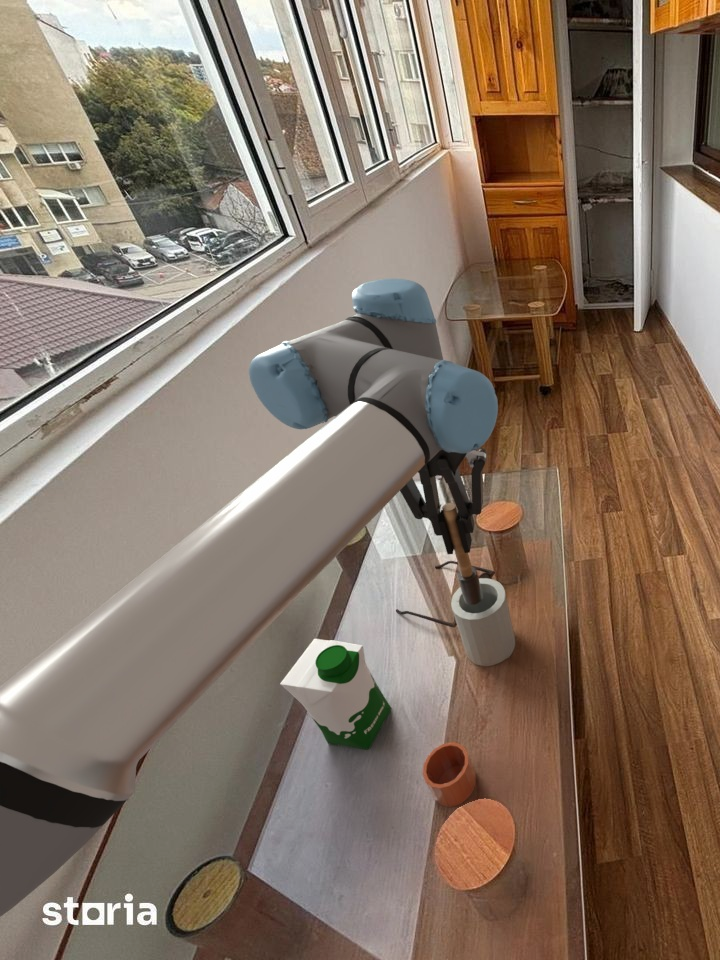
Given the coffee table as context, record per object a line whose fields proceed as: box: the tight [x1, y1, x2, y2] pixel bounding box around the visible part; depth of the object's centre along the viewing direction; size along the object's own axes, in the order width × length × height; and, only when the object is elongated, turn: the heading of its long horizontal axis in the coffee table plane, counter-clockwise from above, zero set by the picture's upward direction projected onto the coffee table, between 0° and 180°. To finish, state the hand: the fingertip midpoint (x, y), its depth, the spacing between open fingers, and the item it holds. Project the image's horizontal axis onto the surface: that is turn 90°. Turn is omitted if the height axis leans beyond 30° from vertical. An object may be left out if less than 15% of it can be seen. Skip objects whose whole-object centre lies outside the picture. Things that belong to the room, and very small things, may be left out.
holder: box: [422, 741, 477, 808], centre depth 75 cm, size 6×6×7 cm
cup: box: [450, 578, 516, 667], centre depth 92 cm, size 9×9×14 cm
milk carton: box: [279, 638, 392, 751], centre depth 78 cm, size 9×9×20 cm
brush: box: [441, 502, 483, 605], centre depth 79 cm, size 3×3×20 cm
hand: (459, 546), depth 77 cm, fingers closed on brush, 2 cm apart
